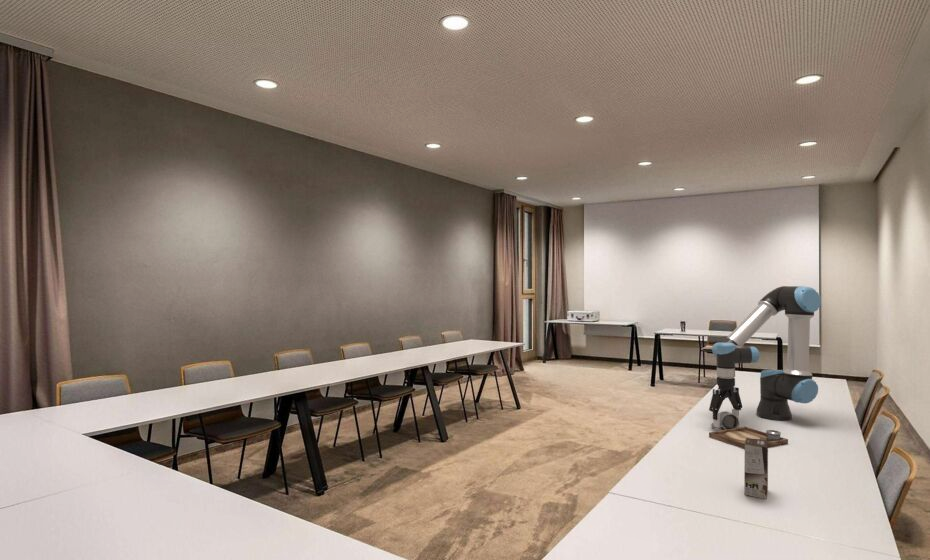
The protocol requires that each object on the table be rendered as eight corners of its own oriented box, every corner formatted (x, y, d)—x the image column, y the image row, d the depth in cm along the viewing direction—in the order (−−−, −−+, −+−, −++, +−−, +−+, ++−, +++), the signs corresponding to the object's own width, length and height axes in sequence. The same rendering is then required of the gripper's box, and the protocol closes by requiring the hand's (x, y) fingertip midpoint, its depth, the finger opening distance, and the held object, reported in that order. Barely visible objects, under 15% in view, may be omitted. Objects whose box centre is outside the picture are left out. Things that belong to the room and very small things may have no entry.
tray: (745, 431, 235) (745, 426, 235) (788, 444, 216) (787, 439, 216) (709, 437, 226) (709, 432, 226) (750, 451, 208) (750, 446, 208)
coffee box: (767, 499, 162) (767, 447, 162) (743, 495, 166) (743, 444, 166) (768, 489, 170) (768, 439, 170) (746, 485, 173) (745, 436, 173)
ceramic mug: (732, 426, 242) (732, 409, 242) (739, 431, 234) (739, 414, 234) (708, 425, 244) (708, 409, 244) (714, 431, 235) (714, 413, 235)
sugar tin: (771, 440, 222) (771, 429, 222) (783, 443, 217) (783, 432, 217) (763, 441, 219) (763, 430, 219) (774, 445, 215) (774, 434, 215)
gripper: (736, 373, 246) (737, 420, 246) (700, 377, 237) (700, 426, 237) (751, 376, 239) (751, 424, 240) (713, 380, 230) (714, 430, 230)
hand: (726, 425), depth 238 cm, fingers closed on ceramic mug, 11 cm apart
